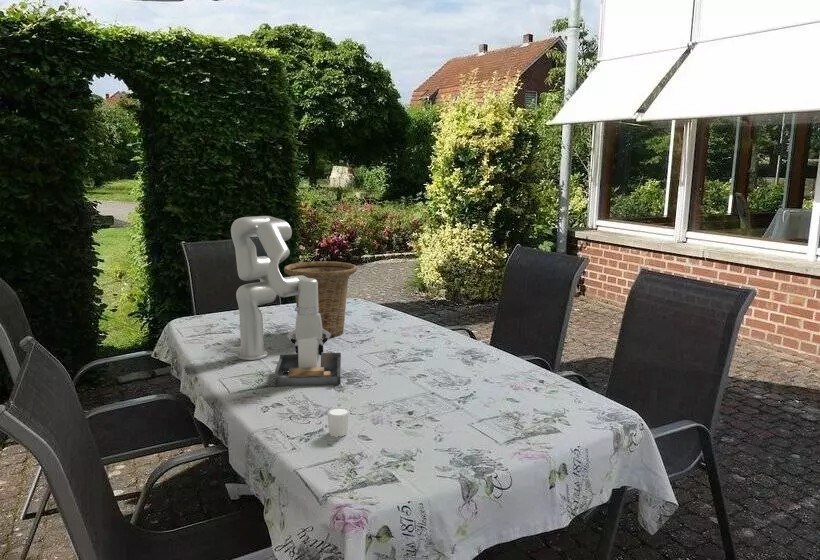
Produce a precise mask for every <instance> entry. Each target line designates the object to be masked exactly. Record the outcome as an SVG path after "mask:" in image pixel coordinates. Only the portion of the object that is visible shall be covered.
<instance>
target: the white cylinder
mask: <svg viewBox="0 0 820 560" xmlns="http://www.w3.org/2000/svg"><path fill="white" fill-rule="evenodd" d="M326 413H327V423H328V432H329V435H330V436H331V435H332V436H331V437H333V436H343V437H345V436H344V435H346V436H347V435H348V434H349V425H350V415H351V414H350V413H351V411H350V409H349V408H346V407H345V408H344V407H333V408H331V409H329V410H327V411H326Z"/></svg>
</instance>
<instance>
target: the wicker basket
mask: <svg viewBox="0 0 820 560" xmlns="http://www.w3.org/2000/svg"><path fill="white" fill-rule="evenodd" d="M357 270H358V268H357V265H355V264H352V263H349V262H343V261H342V262H341V261H325V260H324V261H320V260H319V261H305V262H297V263H296V262H295V263H290V264H288V265H285V266H284V268H283V271H284V273H285V275H288V276H289V277H291V276H299V275H302V276H305V277H307V278H313V279H316V280H317V282H318V313H320V315H321V321H322V328H323V329H324V330H326V331H327V332H329V333H330V334H331V336H330V337H329V339H330V338H332V337H334V338H335V337H337V336H341V335H342V334H344V329H345V319H346V318H345V317H346V305H347V295H348V294H347V293H348V286H349V285H348V284H349V283H348V282H349V279H350V277H351V276H352V275H353V274H355V273H356V272H357ZM295 304H296V308H298V307H299V302H298V295H295ZM298 313H299V312H297V311H296V314H298ZM325 337H326V335H325V334H324V333H322V339H324V338H325Z"/></svg>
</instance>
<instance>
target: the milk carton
mask: <svg viewBox="0 0 820 560" xmlns="http://www.w3.org/2000/svg"><path fill="white" fill-rule="evenodd" d="M316 338H317V337H313V338H308V339H302V340H298V364H299V368H312V367H321V355H319V345H320V343H319V341H318V340H316Z"/></svg>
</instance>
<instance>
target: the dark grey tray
mask: <svg viewBox="0 0 820 560" xmlns="http://www.w3.org/2000/svg"><path fill="white" fill-rule="evenodd" d="M341 360H342V353H341V352H323V353H322V354H321V367H324V372H325V371H330V370H334V371H336V375H331V376H319V377H290V376H288V377H286V376H285V377H283V375H284V374H283V373H284V372H283V371H289V368H299V364H298V356H297V353H280V354H279V358H278V361H277V364H276V366H275V370H274V377H275V378H274V380H275V381H274V383H275V385H274V386H275V387H290V386H291V387H292V386H293V387H295V386H296V387H297V386H300V387H301V386H329V385H331V386H332V385H336V386H337V384H340V385H341V380H342V378H341V377H342V361H341ZM330 372H331V371H330Z"/></svg>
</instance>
